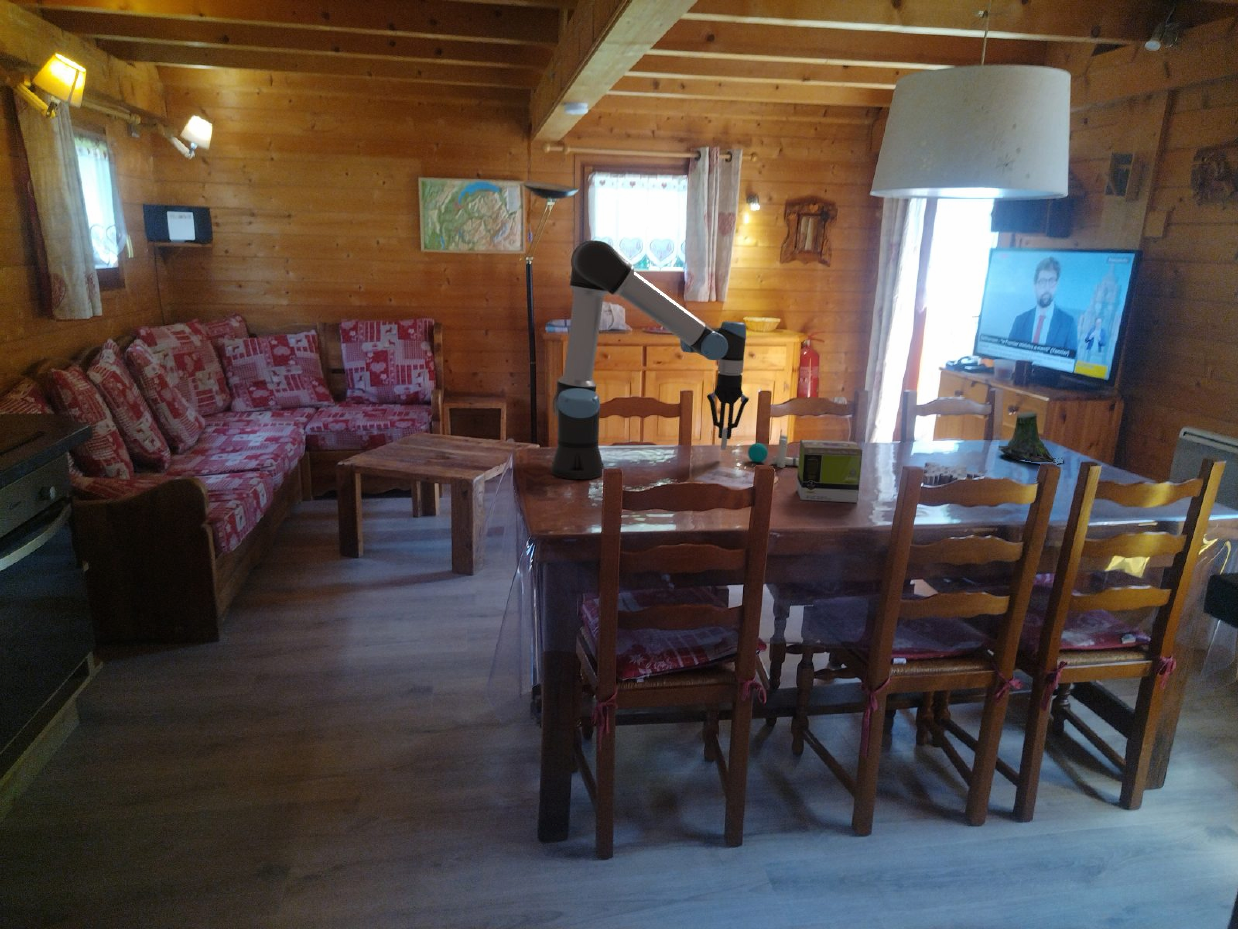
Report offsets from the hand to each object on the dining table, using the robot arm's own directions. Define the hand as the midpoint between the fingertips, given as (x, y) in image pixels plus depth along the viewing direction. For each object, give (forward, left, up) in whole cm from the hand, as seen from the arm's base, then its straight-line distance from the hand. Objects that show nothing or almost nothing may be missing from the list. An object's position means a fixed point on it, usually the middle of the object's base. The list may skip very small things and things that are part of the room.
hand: (723, 448), depth 251 cm
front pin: (+13, +8, -2) cm, 15 cm away
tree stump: (+65, +81, -4) cm, 104 cm away
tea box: (+42, -10, -4) cm, 43 cm away
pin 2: (+17, +7, -4) cm, 18 cm away
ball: (+9, +6, -1) cm, 11 cm away
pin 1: (+14, +11, -4) cm, 18 cm away
